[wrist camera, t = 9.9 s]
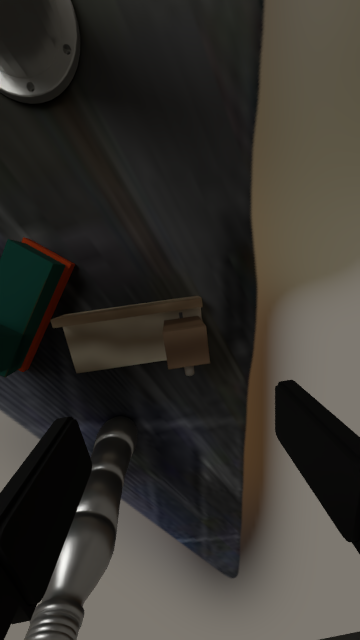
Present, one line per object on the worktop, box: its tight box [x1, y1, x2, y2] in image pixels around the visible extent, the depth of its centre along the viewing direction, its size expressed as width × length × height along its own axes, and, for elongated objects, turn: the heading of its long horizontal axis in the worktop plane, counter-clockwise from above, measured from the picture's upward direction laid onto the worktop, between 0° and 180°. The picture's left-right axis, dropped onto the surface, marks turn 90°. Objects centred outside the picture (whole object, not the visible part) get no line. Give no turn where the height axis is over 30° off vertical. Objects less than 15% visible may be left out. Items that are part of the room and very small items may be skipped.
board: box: [50, 296, 203, 373], centre depth 26 cm, size 9×20×4 cm, turn 98°
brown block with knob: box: [162, 316, 210, 376], centre depth 24 cm, size 6×5×6 cm
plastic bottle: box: [24, 416, 137, 640], centre depth 22 cm, size 6×7×20 cm
